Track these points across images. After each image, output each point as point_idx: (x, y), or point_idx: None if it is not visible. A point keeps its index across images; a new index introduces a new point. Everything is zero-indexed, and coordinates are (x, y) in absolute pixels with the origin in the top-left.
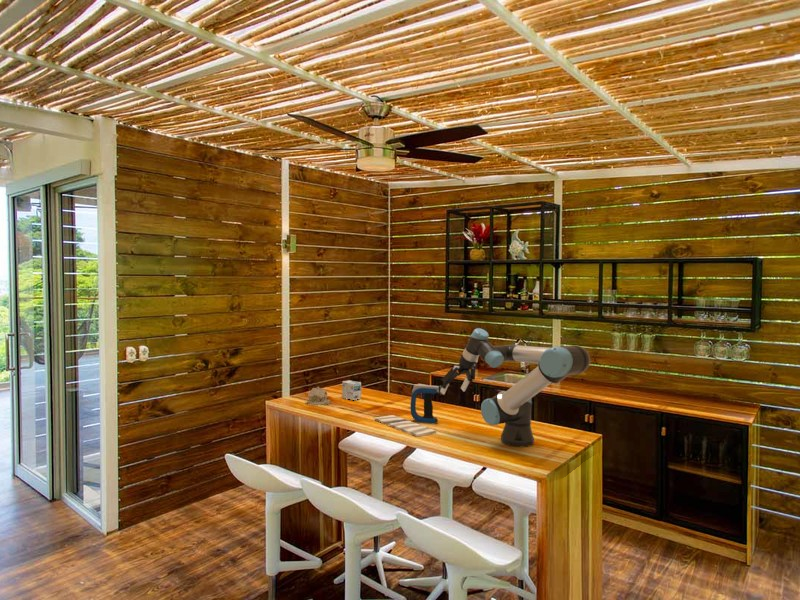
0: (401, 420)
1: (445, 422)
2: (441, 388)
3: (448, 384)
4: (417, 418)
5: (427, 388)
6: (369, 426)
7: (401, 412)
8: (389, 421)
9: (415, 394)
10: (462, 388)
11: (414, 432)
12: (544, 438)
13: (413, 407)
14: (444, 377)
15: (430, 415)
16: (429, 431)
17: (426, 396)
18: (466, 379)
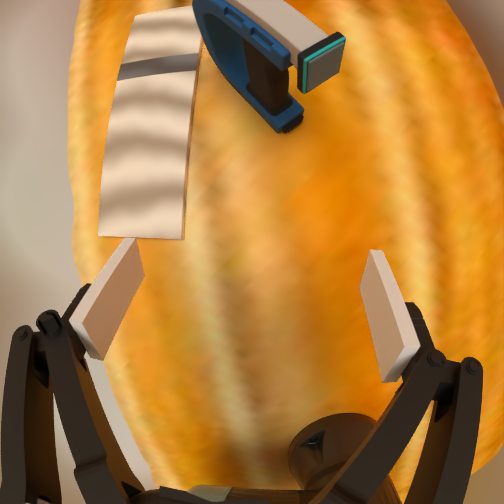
0: (175, 63)
1: (328, 143)
2: (112, 256)
3: (94, 357)
4: (228, 78)
5: (243, 18)
6: (82, 69)
7: None
8: (137, 58)
9: (201, 12)
10: (368, 276)
11: (106, 210)
12: (417, 451)
13: (209, 44)
14: (13, 367)
15: (267, 102)
16: (153, 231)
17: (247, 42)
18: (395, 359)
